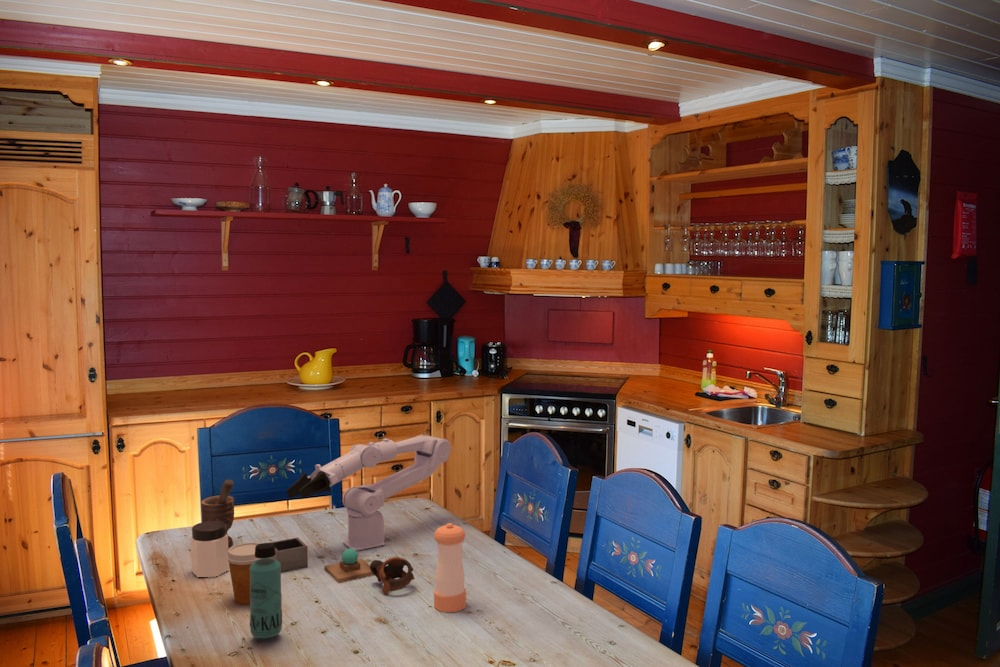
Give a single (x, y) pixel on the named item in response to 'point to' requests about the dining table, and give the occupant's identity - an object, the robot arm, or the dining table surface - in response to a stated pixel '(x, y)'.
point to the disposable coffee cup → (241, 570)
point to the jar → (209, 549)
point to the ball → (349, 556)
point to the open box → (291, 554)
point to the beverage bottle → (265, 593)
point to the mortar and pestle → (220, 508)
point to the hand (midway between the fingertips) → (294, 494)
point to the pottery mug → (392, 573)
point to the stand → (348, 570)
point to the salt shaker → (449, 569)
